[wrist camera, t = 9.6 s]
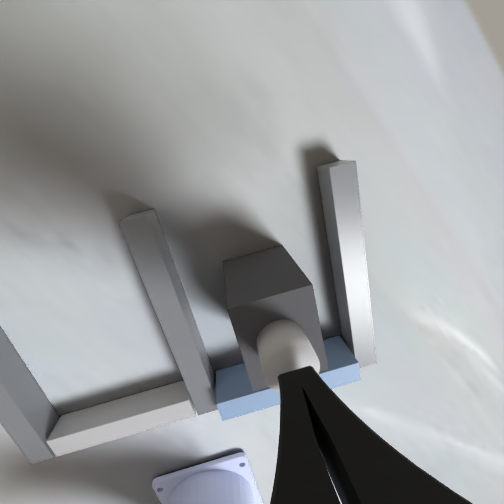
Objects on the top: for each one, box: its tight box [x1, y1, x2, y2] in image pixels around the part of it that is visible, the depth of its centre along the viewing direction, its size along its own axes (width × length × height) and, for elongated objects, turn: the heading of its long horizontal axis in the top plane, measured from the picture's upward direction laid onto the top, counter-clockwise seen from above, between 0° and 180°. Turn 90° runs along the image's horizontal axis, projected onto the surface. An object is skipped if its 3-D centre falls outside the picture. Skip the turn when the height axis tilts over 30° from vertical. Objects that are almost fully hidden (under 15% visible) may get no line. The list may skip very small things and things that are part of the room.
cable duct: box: [0, 160, 377, 464], centre depth 18 cm, size 14×24×3 cm, turn 103°
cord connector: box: [223, 245, 328, 393], centre depth 15 cm, size 5×4×8 cm
